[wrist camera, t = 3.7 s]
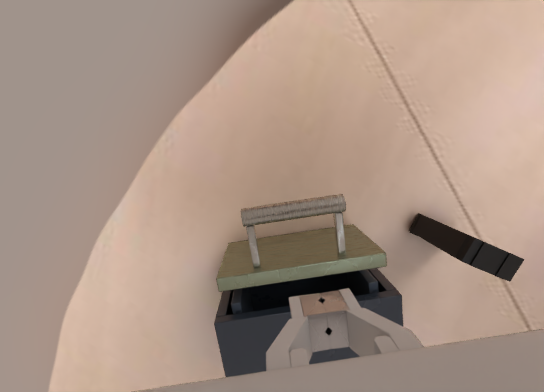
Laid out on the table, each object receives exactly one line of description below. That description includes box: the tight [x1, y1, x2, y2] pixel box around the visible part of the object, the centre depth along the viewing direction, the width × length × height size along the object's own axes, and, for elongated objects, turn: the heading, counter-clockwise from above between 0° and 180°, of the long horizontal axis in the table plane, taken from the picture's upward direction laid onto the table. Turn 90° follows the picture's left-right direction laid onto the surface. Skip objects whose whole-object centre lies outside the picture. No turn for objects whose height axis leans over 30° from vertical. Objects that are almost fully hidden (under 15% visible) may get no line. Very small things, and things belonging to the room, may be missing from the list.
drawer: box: [216, 194, 387, 314], centre depth 24 cm, size 17×13×7 cm
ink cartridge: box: [409, 214, 524, 281], centre depth 24 cm, size 5×2×8 cm, turn 66°
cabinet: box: [214, 268, 403, 377], centre depth 25 cm, size 14×15×9 cm
